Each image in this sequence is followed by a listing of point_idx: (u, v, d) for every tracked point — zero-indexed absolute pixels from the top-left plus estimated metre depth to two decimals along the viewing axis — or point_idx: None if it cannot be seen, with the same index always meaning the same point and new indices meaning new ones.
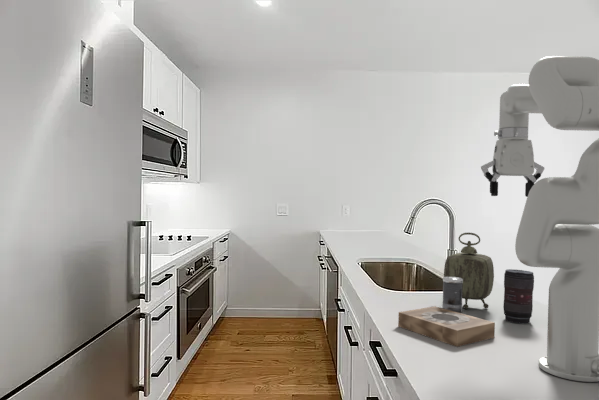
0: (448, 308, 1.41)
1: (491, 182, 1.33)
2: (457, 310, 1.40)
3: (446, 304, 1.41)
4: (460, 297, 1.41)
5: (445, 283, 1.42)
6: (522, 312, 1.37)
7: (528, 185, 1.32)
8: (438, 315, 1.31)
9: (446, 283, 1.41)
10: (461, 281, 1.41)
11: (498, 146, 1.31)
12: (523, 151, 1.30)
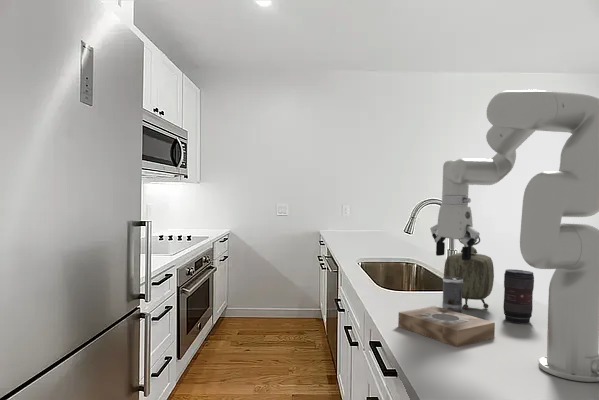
0: (448, 308, 1.41)
1: (470, 247, 1.38)
2: (457, 310, 1.40)
3: (446, 304, 1.41)
4: (460, 297, 1.41)
5: (445, 283, 1.42)
6: (522, 312, 1.37)
7: (442, 245, 1.47)
8: (438, 315, 1.31)
9: (446, 283, 1.41)
10: (461, 281, 1.41)
11: (470, 213, 1.40)
12: None
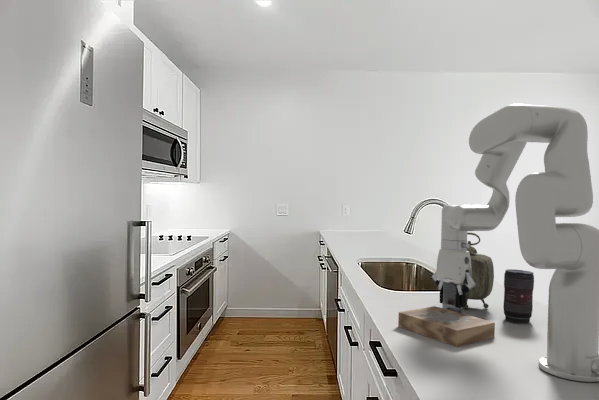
0: (448, 308, 1.41)
1: (464, 295, 1.40)
2: (457, 310, 1.40)
3: (446, 304, 1.41)
4: None
5: (445, 283, 1.42)
6: (522, 312, 1.37)
7: None
8: (438, 315, 1.31)
9: (446, 283, 1.41)
10: None
11: (469, 258, 1.40)
12: None
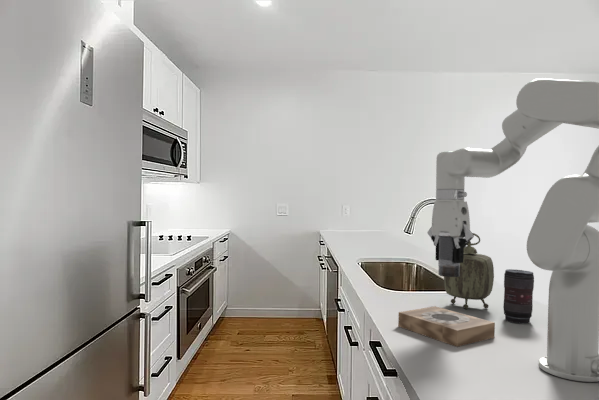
0: (444, 264, 1.28)
1: (462, 249, 1.27)
2: (454, 266, 1.28)
3: (442, 259, 1.29)
4: None
5: (441, 237, 1.30)
6: (522, 312, 1.37)
7: None
8: (438, 315, 1.31)
9: (442, 236, 1.29)
10: None
11: (467, 208, 1.27)
12: None
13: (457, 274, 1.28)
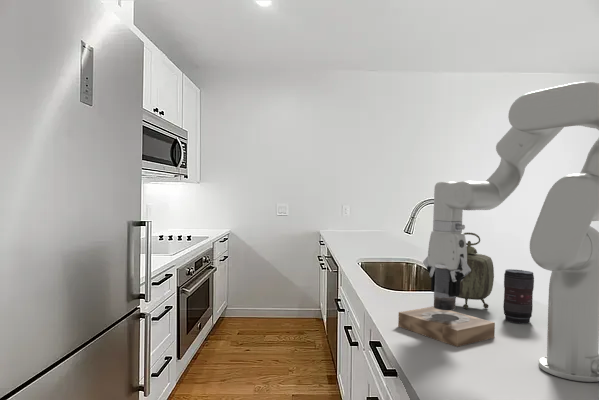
0: (440, 297, 1.26)
1: (458, 283, 1.24)
2: (450, 299, 1.25)
3: (438, 292, 1.26)
4: None
5: (437, 269, 1.27)
6: (522, 312, 1.37)
7: None
8: (438, 315, 1.31)
9: (438, 269, 1.26)
10: None
11: (465, 241, 1.24)
12: None
13: (453, 307, 1.26)
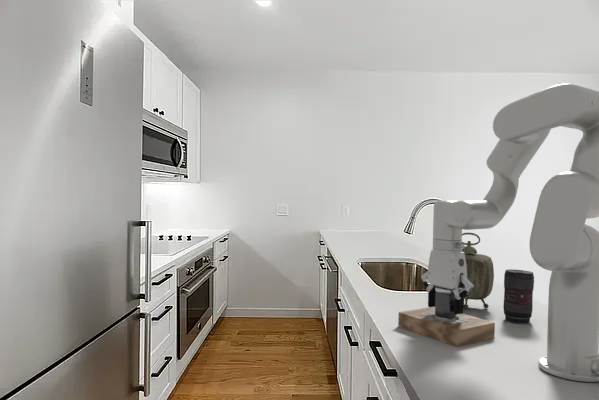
0: None
1: (462, 300, 1.23)
2: None
3: (439, 317, 1.26)
4: None
5: (437, 293, 1.26)
6: (522, 312, 1.37)
7: None
8: None
9: (439, 293, 1.26)
10: None
11: (464, 259, 1.24)
12: None
13: None
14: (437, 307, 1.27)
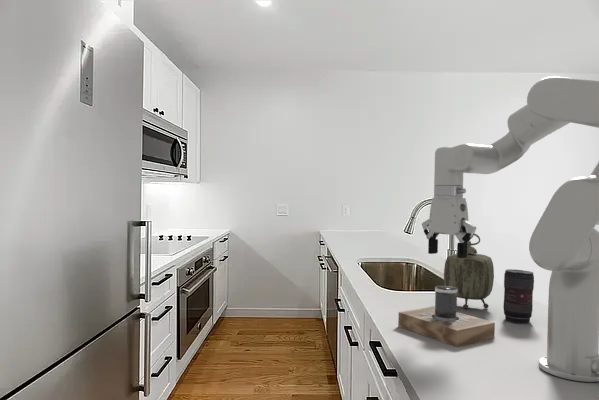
0: None
1: (466, 244, 1.23)
2: None
3: (439, 317, 1.26)
4: (454, 309, 1.25)
5: (437, 293, 1.26)
6: (522, 312, 1.37)
7: (435, 242, 1.32)
8: None
9: (439, 293, 1.26)
10: (455, 291, 1.25)
11: (466, 205, 1.25)
12: None
13: None
14: (437, 307, 1.27)
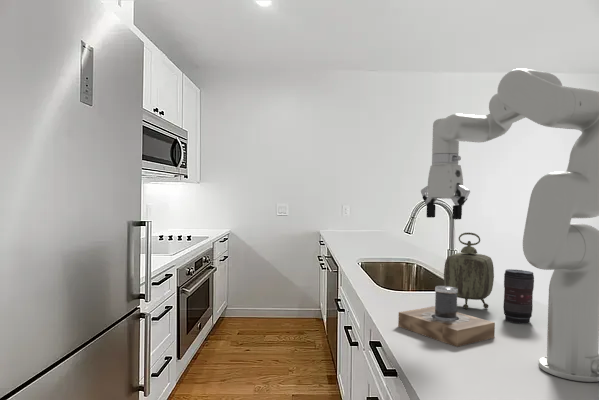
0: None
1: (460, 206, 1.35)
2: None
3: (439, 317, 1.26)
4: (454, 309, 1.25)
5: (438, 293, 1.26)
6: (522, 312, 1.37)
7: (433, 207, 1.44)
8: None
9: (439, 293, 1.26)
10: (455, 291, 1.25)
11: (461, 171, 1.37)
12: None
13: None
14: (437, 307, 1.27)
